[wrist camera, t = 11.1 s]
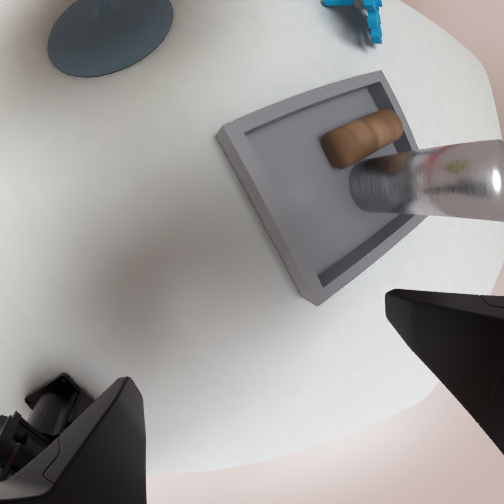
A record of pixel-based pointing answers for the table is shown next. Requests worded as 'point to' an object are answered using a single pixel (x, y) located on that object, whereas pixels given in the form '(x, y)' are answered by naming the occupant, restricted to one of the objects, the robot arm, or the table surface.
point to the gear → (371, 3)
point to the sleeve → (434, 181)
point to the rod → (361, 137)
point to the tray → (316, 183)
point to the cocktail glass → (107, 35)
